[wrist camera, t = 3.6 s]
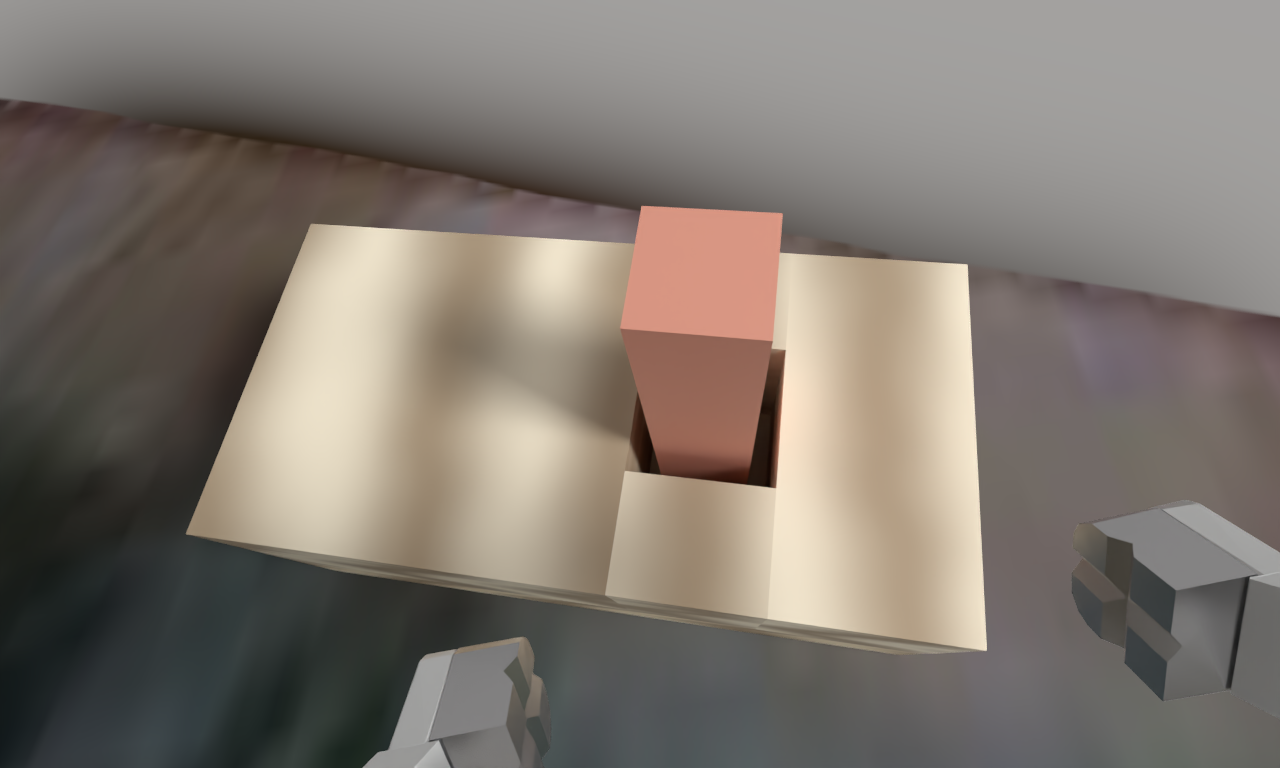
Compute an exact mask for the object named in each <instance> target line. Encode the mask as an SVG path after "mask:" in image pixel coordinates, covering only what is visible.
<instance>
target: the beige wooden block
mask: <svg viewBox="0 0 1280 768" xmlns="http://www.w3.org/2000/svg"><path fill="white" fill-rule="evenodd" d="M634 247H635V244H627V243H611V242H595V241H579V240H563V239H546V238H530V237H514V236H498V235H482V234H466V233H450V232H434V231H417V230H401V229H385V228H369V227H353V226H337V225H321V224H311V225H310V228H309V230H308V233H307V235H306V238H305V240H304V243H303V245H302V248H301V250H300V252H299V255H298V257H297V260H296V262H295V265H294V267H293V270H292V272H291V275H290V277H289V280H288V282H287V285H286V287H285V290H284V292H283V295H282V297H281V300H280V302H279V304H278V307H277V309H276V312H275V314H274V317H273V319H272V322H271V324H270V327H269V329H268V332H267V334H266V337H265V339H264V342H263V344H262V347H261V349H260V352H259V354H258V356H257V359H256V361H255V364H254V366H253V369H252V371H251V374H250V376H249V379H248V381H247V384H246V386H245V389H244V391H243V394H242V396H241V399H240V401H239V404H238V406H237V408H236V411H235V413H234V416H233V418H232V421H231V423H230V426H229V428H228V431H227V433H226V436H225V438H224V441H223V443H222V446H221V448H220V451H219V453H218V456H217V458H216V460H215V463H214V465H213V468H212V470H211V473H210V475H209V478H208V480H207V483H206V485H205V488H204V490H203V493H202V495H201V498H200V500H199V503H198V505H197V508H196V510H195V512H194V515H193V517H192V520H191V522H190V525H189V527H188V530H187V532H186V534H187V535H192V536H196V537H200V538H204V539H208V540H212V541H216V542H220V543H224V544H228V545H232V546H237V547H241V548H245V549H249V550H253V551H257V552H261V553H265V554H269V555H273V556H277V557H282V558H286V559H290V560H294V561H298V562H302V563H306V564H310V565H314V566H318V567H322V568H327V569H331V570H335V571H341V572H348V573H354V574H361V575H368V576H374V577H381V578H388V579H394V580H401V581H408V582H415V583H421V584H428V585H435V586H441V587H448V588H455V589H461V590H468V591H475V592H481V593H488V594H495V595H501V596H508V597H515V598H521V599H528V600H535V601H542V602H548V603H555V604H562V605H568V606H575V607H582V608H588V609H595V610H602V611H608V612H615V613H622V614H628V615H635V616H642V617H648V618H655V619H662V620H669V621H675V622H682V623H689V624H695V625H702V626H709V627H715V628H722V629H729V630H735V631H742V632H749V633H755V634H762V635H769V636H775V637H782V638H789V639H796V640H802V641H809V642H816V643H822V644H829V645H836V646H842V647H849V648H856V649H862V650H869V651H876V652H882V653H889V654H896V655H908V654H930V653H952V652H974V651H987V644H986V624H985V604H984V585H983V565H982V545H981V525H980V505H979V485H978V465H977V446H976V426H975V406H974V386H973V366H972V346H971V326H970V307H969V287H968V267H967V265H966V264H950V263H933V262H917V261H901V260H885V259H869V258H853V257H837V256H821V255H804V254H788V253H780V255H779V268H778V281H777V294H776V307H775V320H774V333H773V343H772V349H771V354H770V360H769V365H768V371H767V376H766V382H765V387H764V393H763V398H762V404H761V409H760V415H759V420H758V426H757V431H756V437H755V442H754V448H753V453H752V459H751V464H750V470H749V475H748V481H747V485H743V484H734V483H726V482H717V481H708V480H700V479H691V478H683V477H674V476H665V475H661V472H660V469H659V465H658V461H657V458H656V454H655V451H654V447H653V444H652V440H651V437H650V433H649V430H648V426H647V422H646V419H645V415H644V412H643V408H642V405H641V401H640V398H639V394H638V390H637V387H636V383H635V380H634V376H633V373H632V369H631V366H630V362H629V359H628V355H627V351H626V348H625V344H624V341H623V337H622V334H621V330H620V326H621V320H622V315H623V309H624V303H625V298H626V292H627V286H628V281H629V275H630V269H631V264H632V258H633V252H634Z"/></svg>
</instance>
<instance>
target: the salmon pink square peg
mask: <svg viewBox="0 0 1280 768" xmlns="http://www.w3.org/2000/svg"><path fill="white" fill-rule="evenodd" d="M782 216H783V214H782V213H764V212H746V211H726V210H708V209H688V208H671V207H652V206H651V207H650V206H642V207H641V213H640V218H639V224H638V230H637V235H636V241H635V247H634V252H633V258H632V264H631V269H630V275H629V281H628V286H627V292H626V298H625V303H624V309H623V315H622V320H621V326H620V330H621V334H622V337H623V341H624V344H625V348H626V351H627V355H628V359H629V362H630V366H631V369H632V373H633V376H634V380H635V383H636V387H637V390H638V394H639V398H640V401H641V405H642V408H643V412H644V415H645V419H646V422H647V426H648V430H649V433H650V437H651V440H652V444H653V447H654V451H655V454H656V458H657V461H658V465H659V469H660V472H661V475H665V476H674V477H683V478H691V479H700V480H708V481H717V482H726V483H734V484H743V485H747V481H748V475H749V470H750V464H751V459H752V453H753V448H754V442H755V437H756V431H757V426H758V420H759V415H760V409H761V404H762V398H763V393H764V387H765V382H766V376H767V371H768V365H769V360H770V354H771V349H772V343H773V333H774V320H775V307H776V294H777V281H778V268H779V255H780V242H781V229H782Z"/></svg>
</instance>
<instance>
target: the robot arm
mask: <svg viewBox="0 0 1280 768" xmlns="http://www.w3.org/2000/svg"><path fill="white" fill-rule="evenodd" d="M1073 548H1074V549H1075V550H1076V551H1077V552H1078V553H1079V554H1080V555H1081V557H1082V560H1081V561H1080V562H1079V564H1078V565H1077V566H1076V568H1075V569H1074V570H1073V572H1072V594H1073V597H1074V600H1075V602H1076V605H1077V608H1078V611H1079V612H1080V614H1081V615H1082V617H1083V619H1084V620H1085V622H1086V623H1087V625H1088V626H1089V627H1090V628H1091V629H1092V630H1093V631H1094V632H1095V633H1096V634H1097V635H1098V636H1099V637H1100V638H1101V639H1103V640H1105V641H1108V642H1110V643H1112V644H1115V645H1117V646H1119V647H1122V648H1124V662H1125V664H1126V665H1127V666H1128V667H1129V668H1130V669H1131V670H1132V671H1133V672H1134V673H1135V674H1136V675H1137V676H1138V677H1139V678H1140V679H1141V680H1142V681H1143V682H1144V683H1145V684H1146V685H1147V686H1148V687H1149V688H1150V689H1151V690H1152V691H1153V692H1154V693H1155V694H1156V695H1157V696H1158V697H1159V698H1160V699H1161V700H1162V701H1169V700H1175V699H1181V698H1187V697H1193V696H1199V695H1205V694H1211V693H1217V692H1223V691H1229V690H1231V692H1230V694H1232V695H1234V696H1236V697H1238V698H1240V699H1242V700H1244V701H1246V702H1247V703H1249V704H1251V705H1253V706H1255V707H1257V708H1259V709H1261V710H1263V711H1265V712H1267V713H1269V714H1271V715H1273V716H1275V717H1277V718H1279V719H1280V553H1279V552H1278V551H1276V550H1274V549H1273V548H1271V547H1269V546H1268V545H1266V544H1265V543H1263V542H1261V541H1260V540H1258V539H1256V538H1255V537H1253V536H1251V535H1250V534H1248V533H1247V532H1245V531H1243V530H1242V529H1240V528H1238V527H1237V526H1235V525H1234V524H1232V523H1230V522H1229V521H1227V520H1225V519H1224V518H1222V517H1221V516H1219V515H1217V514H1216V513H1214V512H1212V511H1211V510H1209V509H1208V508H1206V507H1204V506H1203V505H1201V504H1199V503H1196V502H1192V501H1188V500H1182V501H1178V502H1174V503H1169V504H1165V505H1160V506H1156V507H1151V508H1149V509H1148V510H1141V511H1137V512H1132V513H1127V514H1122V515H1117V516H1113V517H1108V518H1103V519H1098V520H1094V521H1089V522H1084V523H1079V524H1078V526H1077V528H1076V530H1075V532H1074V537H1073ZM533 666H534V654H533V651H532V649H531V646H530V643H529V641H528V639H526V638H525V637H518V638H513V639H507V640H501V641H496V642H490V643H485V644H479V645H473V646H468V647H462V648H459V649H454V650H449V651H443V652H438V653H432V654H427V655H425V656H424V657H423V658H422V659H421V660H420V662H419V663H418V666H417V669H416V672H415V675H414V678H413V681H412V683H411V686H410V689H409V692H408V695H407V698H406V700H405V703H404V706H403V709H402V712H401V715H400V718H399V720H398V723H397V726H396V729H395V732H394V735H393V737H392V740H391V743H390V746H389V749H388V750H387V751H383V752H378V753H377V754H376V755H375V756H374V757H373V758H372V759H371V760H370V761H369V762H368V763H367V764H366V765H365V766H364V767H363V768H544V766H543V763H542V759H543V757H544V756H545V754H546V753H547V752H548V750H549V749H550V741H551V718H550V707H549V702H548V697H547V692H546V689H545V686H544V683H543V680H542V679H541V678H539V677H538V676H536V675H535V674H533Z"/></svg>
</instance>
